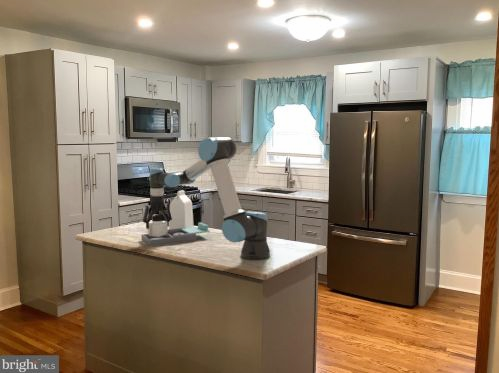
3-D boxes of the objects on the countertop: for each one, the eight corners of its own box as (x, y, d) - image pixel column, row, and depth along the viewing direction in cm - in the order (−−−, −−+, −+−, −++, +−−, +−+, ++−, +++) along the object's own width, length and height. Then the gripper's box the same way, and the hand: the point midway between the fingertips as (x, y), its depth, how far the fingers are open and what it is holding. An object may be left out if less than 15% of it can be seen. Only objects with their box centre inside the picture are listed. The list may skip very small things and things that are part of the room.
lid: (209, 231, 273) (209, 225, 273) (189, 234, 267) (189, 228, 266) (201, 227, 284) (201, 221, 283) (181, 230, 277) (181, 224, 277)
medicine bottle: (166, 234, 265) (166, 214, 263) (158, 237, 259) (158, 216, 257) (157, 233, 268) (156, 213, 267) (148, 235, 262) (148, 215, 260)
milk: (185, 233, 285) (184, 192, 281) (169, 232, 289) (168, 191, 285) (193, 229, 296) (193, 190, 293) (177, 228, 300) (177, 189, 296)
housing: (196, 240, 267) (196, 232, 267) (150, 246, 253) (150, 238, 253) (185, 235, 281) (185, 227, 280) (141, 240, 267) (141, 232, 266)
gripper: (172, 193, 269) (173, 229, 272) (136, 195, 258) (137, 234, 261) (177, 194, 263) (178, 232, 266) (140, 197, 251) (140, 236, 254)
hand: (157, 233), depth 263 cm, fingers closed on medicine bottle, 9 cm apart
